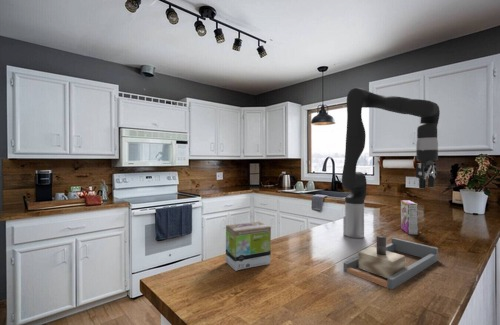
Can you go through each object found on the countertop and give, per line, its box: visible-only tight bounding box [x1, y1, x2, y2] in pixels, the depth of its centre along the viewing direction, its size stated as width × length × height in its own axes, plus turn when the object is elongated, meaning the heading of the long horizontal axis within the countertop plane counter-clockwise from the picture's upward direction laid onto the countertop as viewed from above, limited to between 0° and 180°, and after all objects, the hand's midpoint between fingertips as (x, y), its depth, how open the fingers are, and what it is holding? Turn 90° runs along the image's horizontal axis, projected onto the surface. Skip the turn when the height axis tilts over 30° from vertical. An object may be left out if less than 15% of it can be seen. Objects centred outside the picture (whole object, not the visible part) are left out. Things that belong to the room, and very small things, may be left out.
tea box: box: [225, 221, 272, 272], centre depth 102 cm, size 15×10×15 cm
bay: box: [342, 237, 439, 290], centre depth 99 cm, size 17×38×5 cm, turn 127°
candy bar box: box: [400, 199, 419, 236], centre depth 143 cm, size 11×5×16 cm, turn 168°
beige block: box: [358, 235, 406, 279], centre depth 93 cm, size 12×9×12 cm
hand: (426, 187), depth 110 cm, fingers open, 8 cm apart
